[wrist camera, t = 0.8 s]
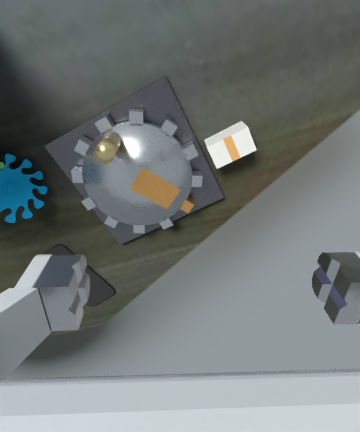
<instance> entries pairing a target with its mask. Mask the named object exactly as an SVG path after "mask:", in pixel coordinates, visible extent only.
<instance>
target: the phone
mask: <svg viewBox="0 0 360 432" xmlns="http://www.w3.org/2000/svg"><path fill="white" fill-rule="evenodd" d="M45 254H52V255H54V254H72V255H75V254H74V253H73V252H72V251H71V250H69V249H68V248H67V247H66V246H64V245H62V244H59V245H56V246H55V247H53V248H52V249H50V250H49V251H47V252H46V253H45ZM85 272H86V273H88V274H89V279H90V291H89V297H88V301H87V303H86V305H88V306H95V305H97V304H98V303H100V302H102V301H103V300H105V299H107V298H109V297H110V296H112V295H113V294H114V292H115V289H114V288H113V287H112V286H111V285H110V284H109V283H108V282H107V281H105V280H104V279H103V278H102V277H101V276H100V275H99V274H98V273H96V272H95V271H94V270H93V269H92V268H90V267H89V266H88V265H87V266H86V269H85Z"/></svg>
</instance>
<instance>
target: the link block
mask: <svg viewBox="0 0 360 432" xmlns="http://www.w3.org/2000/svg"><path fill="white" fill-rule="evenodd" d="M204 141H205V144H206V146H207V149H208V151H209V153H210V155H211V157H212V159H213V162H214V164H215V166H216V168H217V169H218V168H220V167H222V166H224V165H226V164H229V163H231V162H233V161H235V160H237V159H239V158H241V157H243V156H245V155H247V154H249V153H252V152H254V151H256V147H255V144H254V142H253V139H252V137H251V134H250V131H249V129H248V127H247V126H246V125H245V124H244V123H243V122H242V121H241V122H239V123H237V124H235V125H233V126H231V127H229V128H227V129H225V130H223V131H221V132H219V133H217V134H215V135H213V136H211V137H209V138H207V139H205V140H204Z"/></svg>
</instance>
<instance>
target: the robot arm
mask: <svg viewBox="0 0 360 432" xmlns="http://www.w3.org/2000/svg"><path fill="white" fill-rule="evenodd" d="M318 264H319V266H320V267H319V268H318V269H317V270H316V271H314V274H313V278H312V287H313V290H314V293H315V295H316V296H317V298H318V299H320V300H321V301H323V302H324V303H325V306H324V309H325V311H326V313H327V314H328V316H329V317H330V319H331V320H332V322H333V324H359V326H360V251H357V252H328V253H322V254H321V255H320V256H319V259H318ZM86 266H87V262H86V258H85V256H84V255H72V254H54V255H52V254H38V255H36V256H35V257H34V258H33V260H32V261H31V263H30V265H29V266H28V268H27V269H26V271H25V272H24V274H23V275H22V277H21V278H20V280H19V281H18V283H17V285H16V286H15V288H9V289H7V290H6V291H4V292H2V293H1V294H0V432H360V369H333V370H331V369H330V370H300V371H299V370H297V371H263V372H230V373H197V374H165V375H164V374H163V375H129V376H95V377H65V378H64V377H62V378H32V379H31V378H29V379H5V378H6V377H7V376H8V375H9V374H10V373H11V372H12V371H13V370H14V369H15V368H16V367H17V366H18V365H19V364H20V363H21V362H22V361H23V360H24V359H25V358H26V357H27V356H28V355H29V354H30V353H31V352H32V351H33V350H34V349H35V348H36V347H37V346H38V345H39V344H40V343H41V342H42V341H43V340H44V339H45V338H46V337H47V336H48V335H49V334H50V333H51V331H63V330H78V329H79V326H80V323H81V320H82V317H83V313H84V312H83V307H82V306H83V305H84V304H86V303H87V301H88V297H89V291H90V279H89V274H88V273H86V272H85V269H86Z"/></svg>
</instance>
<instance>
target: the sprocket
mask: <svg viewBox="0 0 360 432" xmlns="http://www.w3.org/2000/svg"><path fill="white" fill-rule="evenodd" d="M94 124H95V125H96V127H97V128H98V130H99V131H100V134H99V135H98V136H97V137H96V138H95V140H94V141H92V140H90V139H88V138H86V137H85V136H82V137H81V138H80V139H79V141H78V143H77V145H76V147H75V149H74V151H76V152H78V153H80V154H81V155H83V156H84V160H83V165H82V166H75V167H74V168H73V169H72V171H71V174H72V181H73V183H84V186H85V189H86V191H87V193H88V194H87V195H85V196H84V197H83V199H82V201H81V202H82V203H83V205H84V206H85V207H86V208H87V210H90V209H92V208H94V207H96V206H97V207H98V208H99V209H100V210H101V211H102V212H103V213H105V214H106V215H107V217H106V220H105V222H104V223H105V224H107V225H109V226H111V227H113V228H115V226H116V225H117V223H118V222H122V223H126V224H130V225H133V231H134V233H145V227H146V225H151V224H155V223H160V225H161V226H162V228H163V230H164V229H166V228H168V227H170V226H173V218H172V215H174V214H175V213H176V212H177V211H178V210H179V209H181V210H183V211H184V212H186V213H189V212H190V210H191V209H192V208H193V206H194V199H192V198H191V197H189V196H188V195H189V193H190V190H191V187H202V177H203V175H202V171H192V170H191V164H190V160H191V159H193V158H195V157H197V156H199V154H198V151H197V149H196V147H195V145H194V143H193V141H190V142H188V143H186V144H184V145H182V143H181V142H180V141H179V140H178V139H177V138H176V137H175V136H174V135H173V134H174V132H175V131H176V129H177V128H178V124H177V123H176V122H174V121H173V120H171V119H170V118H168V117H166V118H165V120H164V122H163V123H162V125H161V126H159V125H157V124H154V123H151V122H147V121H144V109H130V111H129V121H123V122H120V123H116V124H115V123H114V122H113V120H112V119H111V117H110V115H109V114H107V115H105V116H104V117H102V118H100V119H98V120H97V121H96V122H95V123H94Z"/></svg>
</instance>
